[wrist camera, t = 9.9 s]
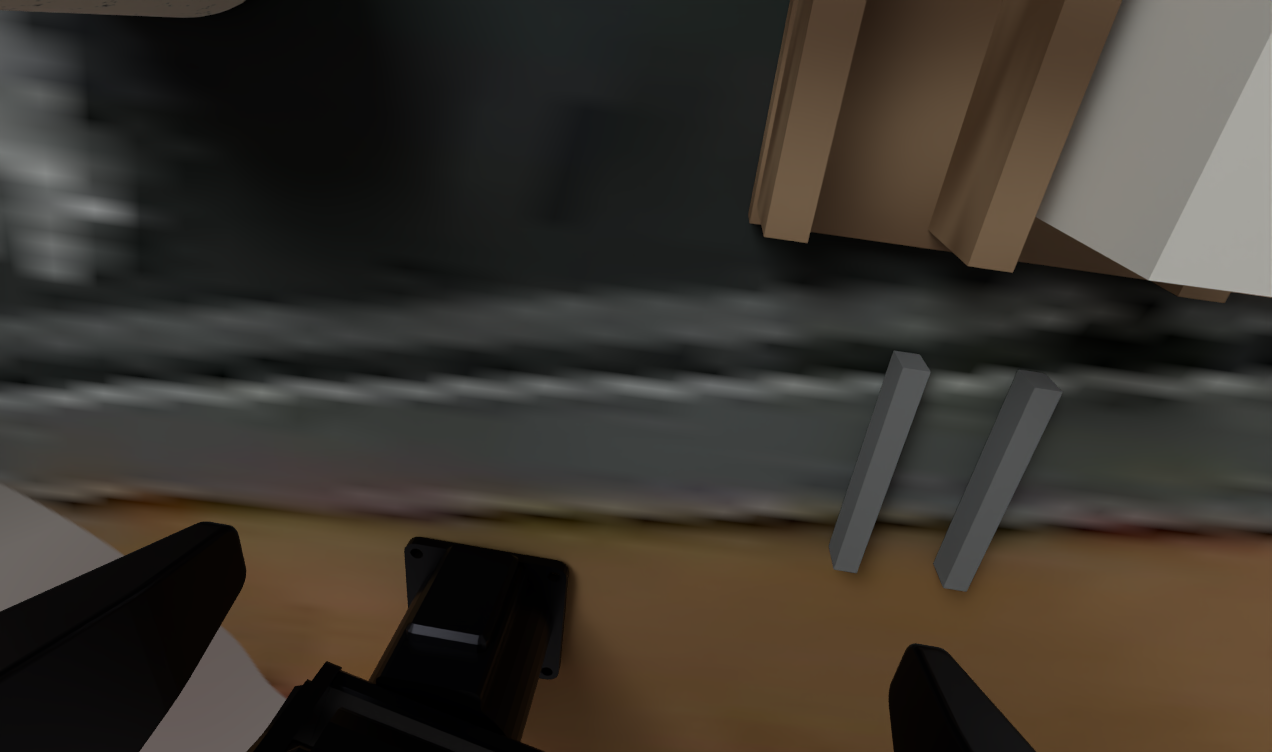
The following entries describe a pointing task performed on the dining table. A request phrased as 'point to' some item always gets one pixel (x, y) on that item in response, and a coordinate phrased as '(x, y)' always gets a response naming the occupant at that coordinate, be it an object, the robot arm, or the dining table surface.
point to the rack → (932, 127)
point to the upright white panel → (1175, 146)
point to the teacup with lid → (125, 7)
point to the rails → (987, 485)
